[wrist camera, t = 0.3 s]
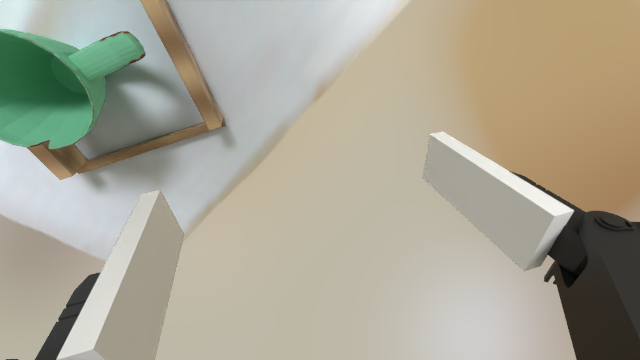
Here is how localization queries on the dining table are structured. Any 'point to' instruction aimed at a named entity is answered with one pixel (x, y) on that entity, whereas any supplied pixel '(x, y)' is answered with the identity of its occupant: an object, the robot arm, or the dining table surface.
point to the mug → (56, 85)
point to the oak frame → (72, 160)
